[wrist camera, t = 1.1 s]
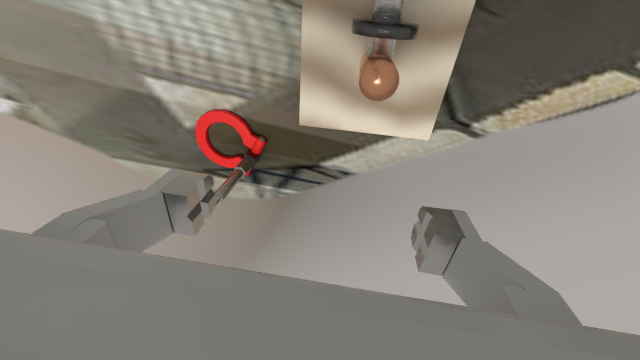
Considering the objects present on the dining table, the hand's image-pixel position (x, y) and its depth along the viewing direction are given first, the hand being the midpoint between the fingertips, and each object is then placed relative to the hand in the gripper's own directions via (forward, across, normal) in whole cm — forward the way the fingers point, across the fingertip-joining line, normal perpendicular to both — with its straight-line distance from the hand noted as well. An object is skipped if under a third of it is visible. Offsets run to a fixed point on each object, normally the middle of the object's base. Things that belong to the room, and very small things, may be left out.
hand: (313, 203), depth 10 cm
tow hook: (+25, +15, +10) cm, 30 cm away
